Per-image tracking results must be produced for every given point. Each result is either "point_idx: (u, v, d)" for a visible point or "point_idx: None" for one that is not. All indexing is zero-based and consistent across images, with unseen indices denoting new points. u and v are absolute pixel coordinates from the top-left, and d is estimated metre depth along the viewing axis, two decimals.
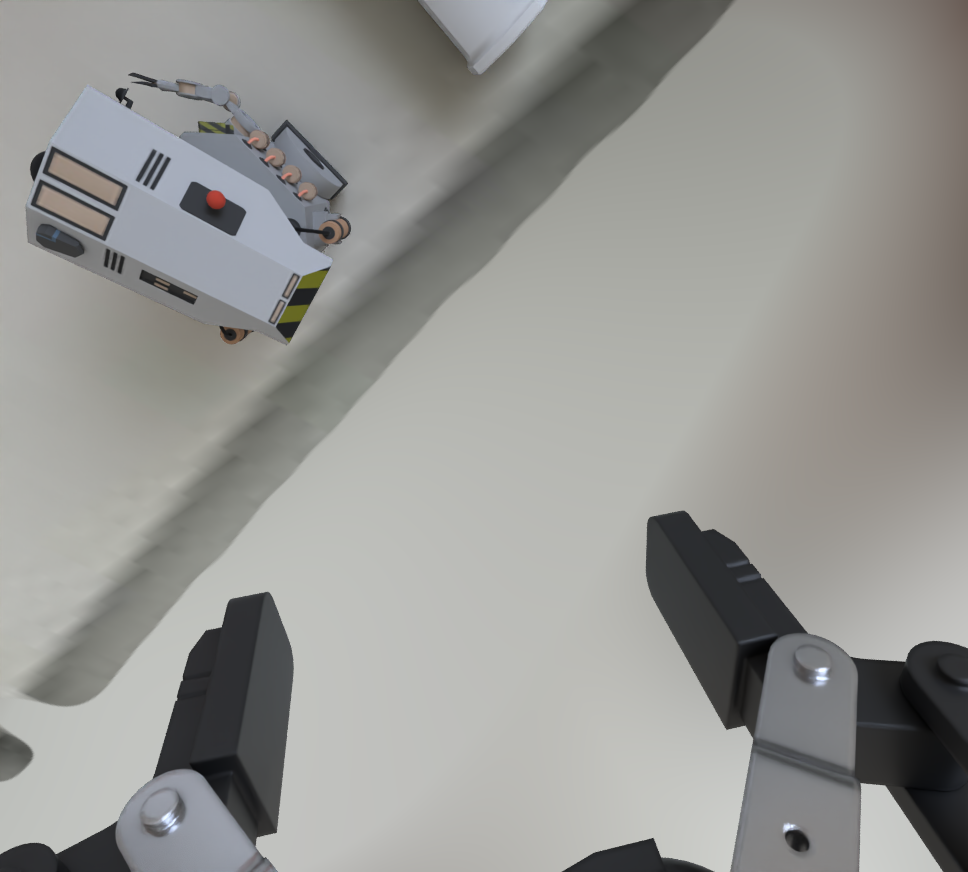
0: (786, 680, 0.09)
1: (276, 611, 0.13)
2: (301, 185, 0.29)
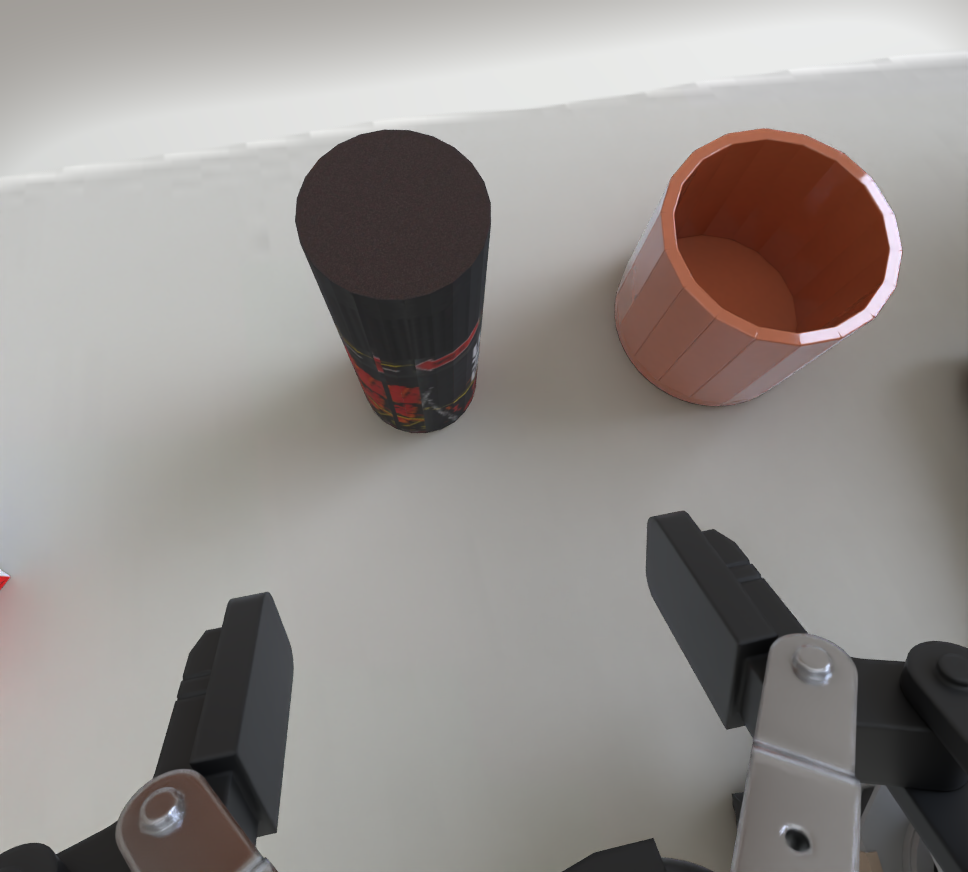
0: (786, 680, 0.09)
1: (276, 611, 0.13)
2: None
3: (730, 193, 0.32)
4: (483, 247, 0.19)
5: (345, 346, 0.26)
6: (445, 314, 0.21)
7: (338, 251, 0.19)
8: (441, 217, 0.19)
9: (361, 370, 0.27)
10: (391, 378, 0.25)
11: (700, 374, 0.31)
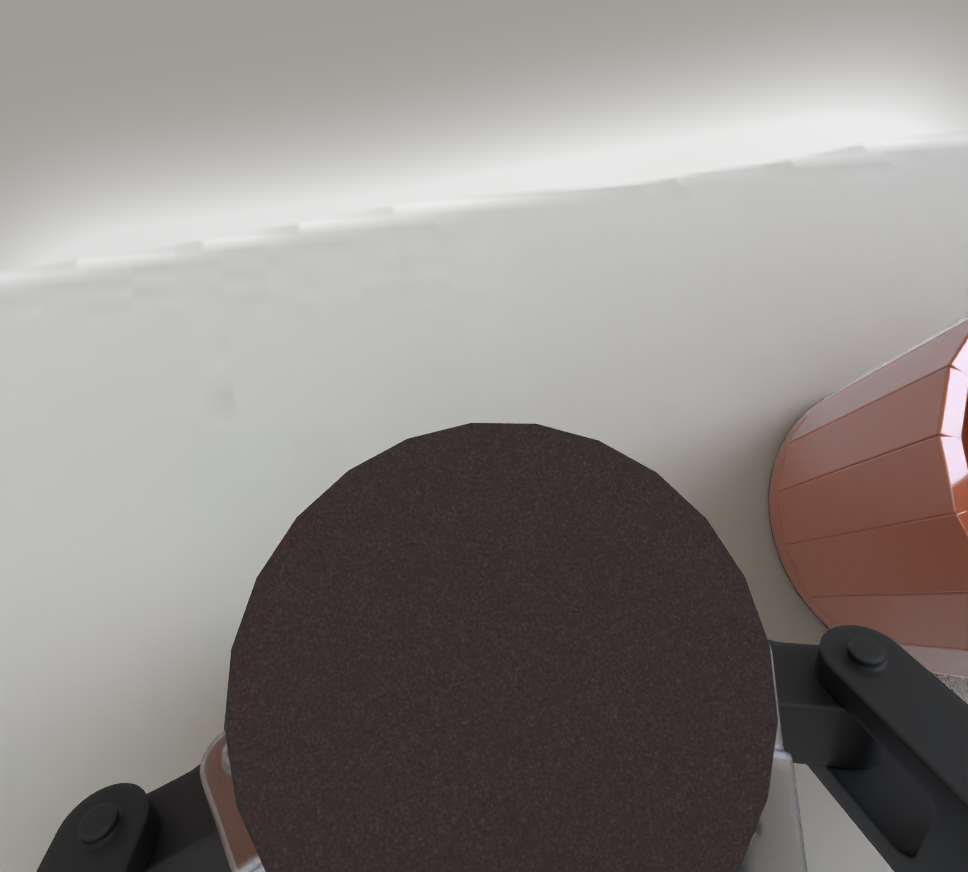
0: None
1: None
2: None
3: None
4: (763, 796, 0.07)
5: None
6: None
7: (351, 836, 0.06)
8: (639, 699, 0.07)
9: None
10: None
11: (953, 667, 0.18)
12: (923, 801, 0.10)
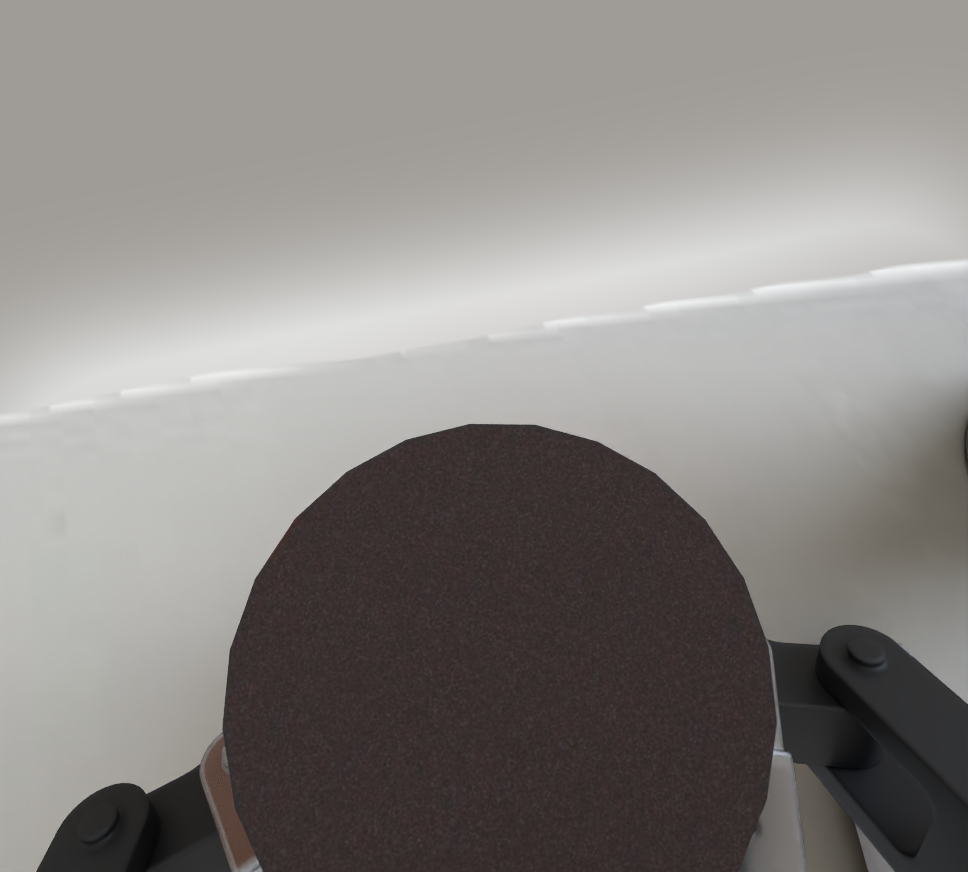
0: None
1: None
2: None
3: None
4: (762, 798, 0.07)
5: None
6: None
7: (350, 837, 0.06)
8: (637, 701, 0.07)
9: None
10: None
11: None
12: (923, 801, 0.10)
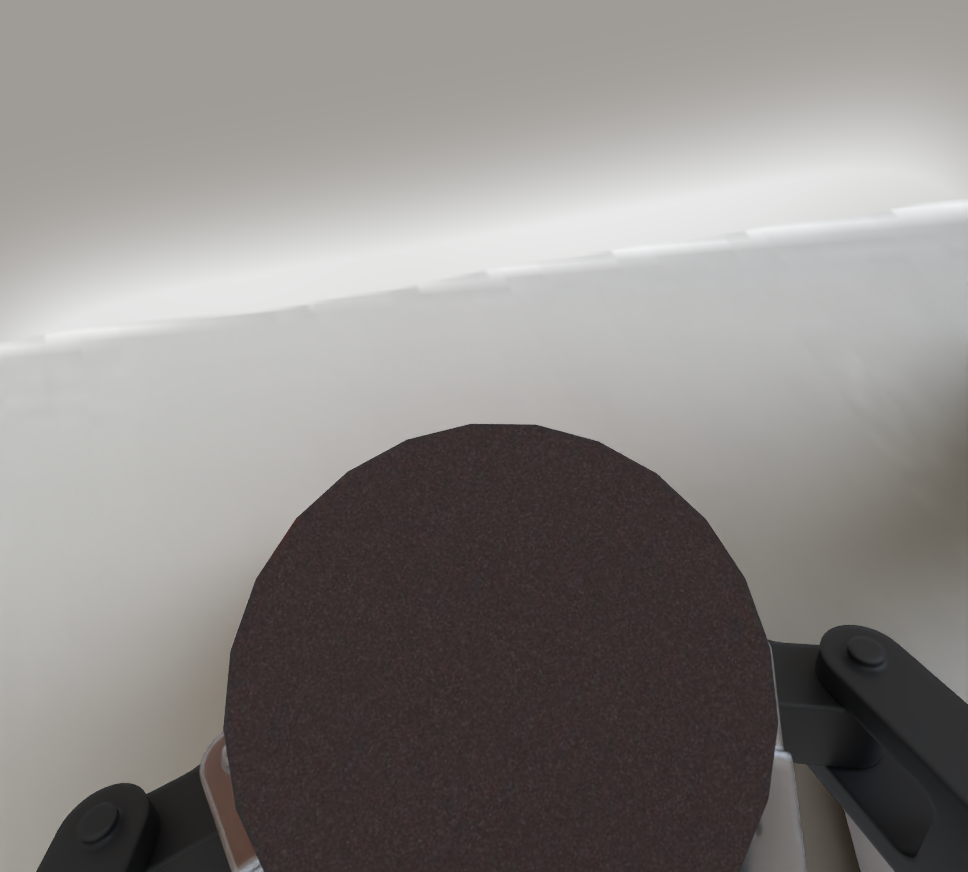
0: None
1: None
2: None
3: None
4: (763, 798, 0.07)
5: None
6: None
7: (350, 839, 0.06)
8: (639, 701, 0.07)
9: None
10: None
11: None
12: (923, 801, 0.10)
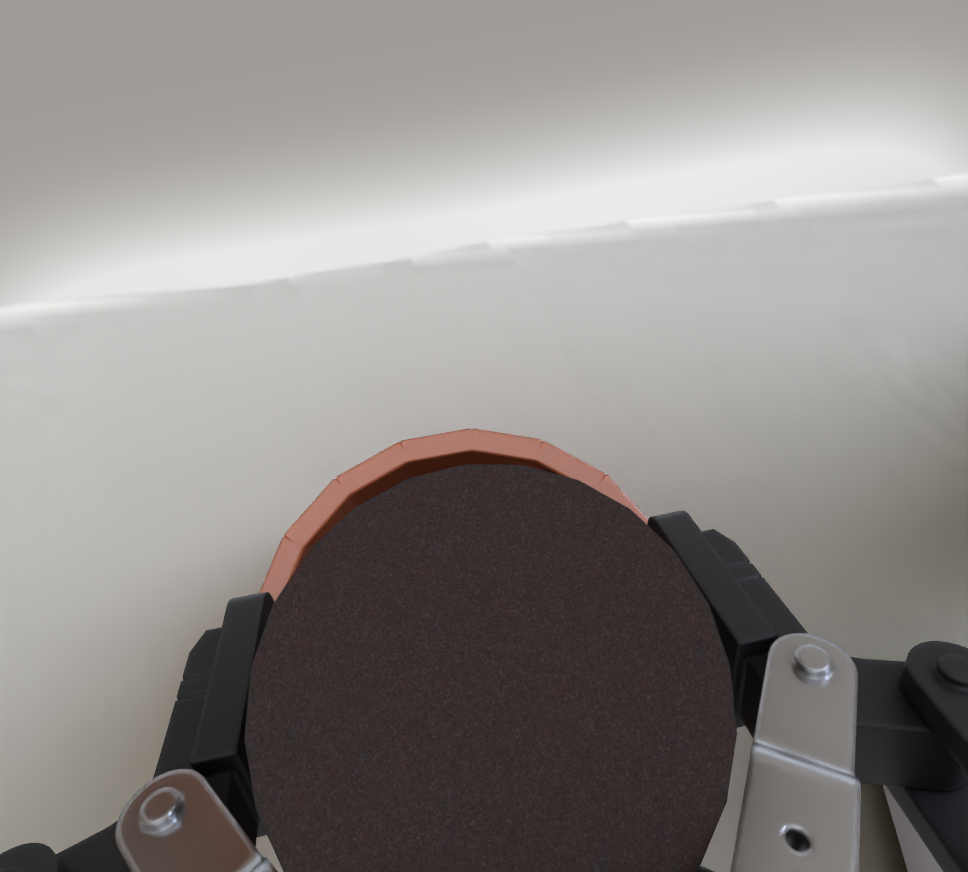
0: (786, 680, 0.09)
1: None
2: None
3: None
4: (722, 800, 0.08)
5: None
6: None
7: (357, 836, 0.07)
8: (613, 714, 0.08)
9: None
10: None
11: None
12: None
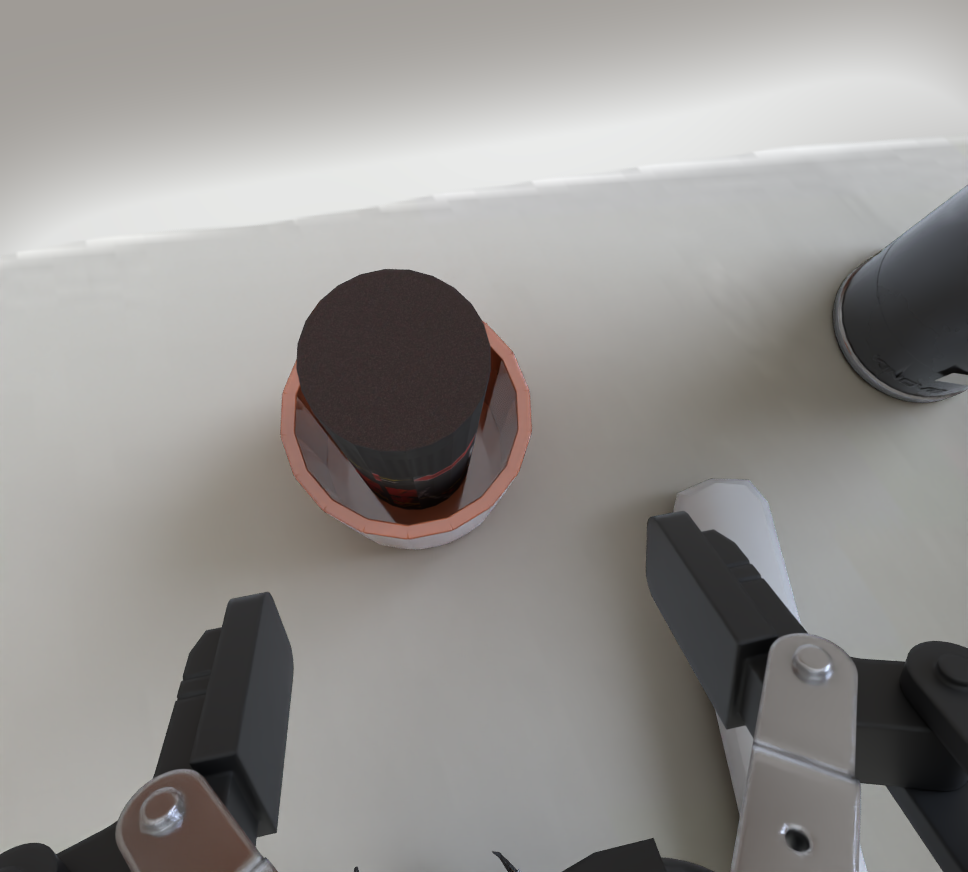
0: (786, 680, 0.09)
1: (276, 611, 0.13)
2: None
3: None
4: (483, 394, 0.20)
5: None
6: (445, 449, 0.21)
7: (340, 401, 0.19)
8: (441, 362, 0.20)
9: (358, 471, 0.27)
10: (389, 484, 0.26)
11: (364, 535, 0.30)
12: None
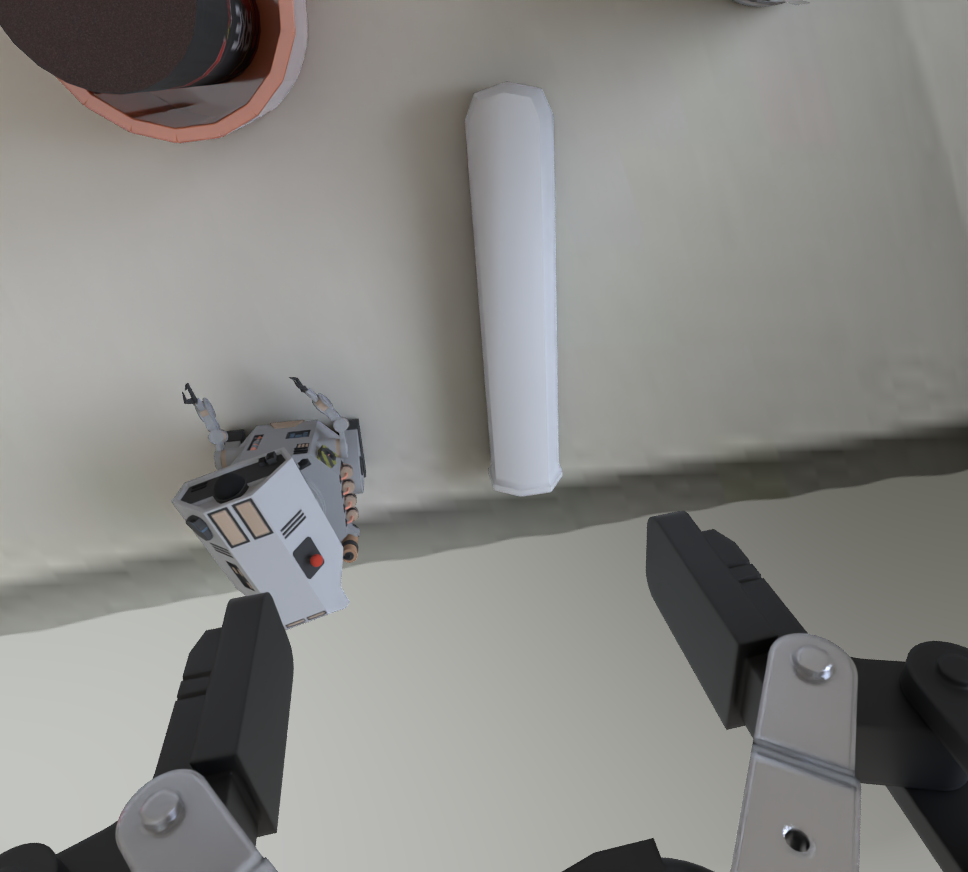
0: (786, 680, 0.09)
1: (276, 611, 0.13)
2: (351, 511, 0.39)
3: None
4: (193, 35, 0.20)
5: None
6: (173, 81, 0.22)
7: (39, 30, 0.19)
8: None
9: None
10: None
11: None
12: None
